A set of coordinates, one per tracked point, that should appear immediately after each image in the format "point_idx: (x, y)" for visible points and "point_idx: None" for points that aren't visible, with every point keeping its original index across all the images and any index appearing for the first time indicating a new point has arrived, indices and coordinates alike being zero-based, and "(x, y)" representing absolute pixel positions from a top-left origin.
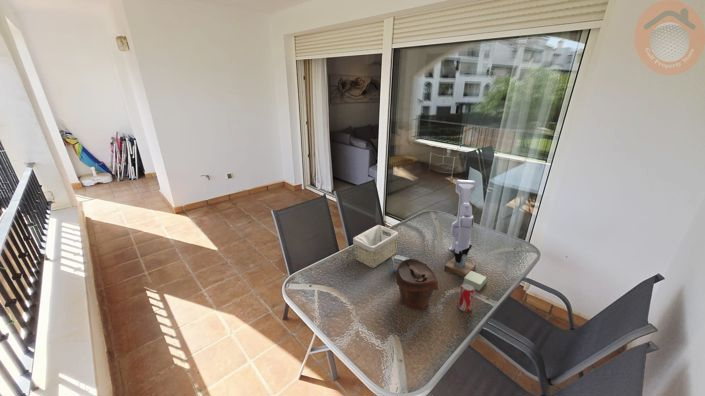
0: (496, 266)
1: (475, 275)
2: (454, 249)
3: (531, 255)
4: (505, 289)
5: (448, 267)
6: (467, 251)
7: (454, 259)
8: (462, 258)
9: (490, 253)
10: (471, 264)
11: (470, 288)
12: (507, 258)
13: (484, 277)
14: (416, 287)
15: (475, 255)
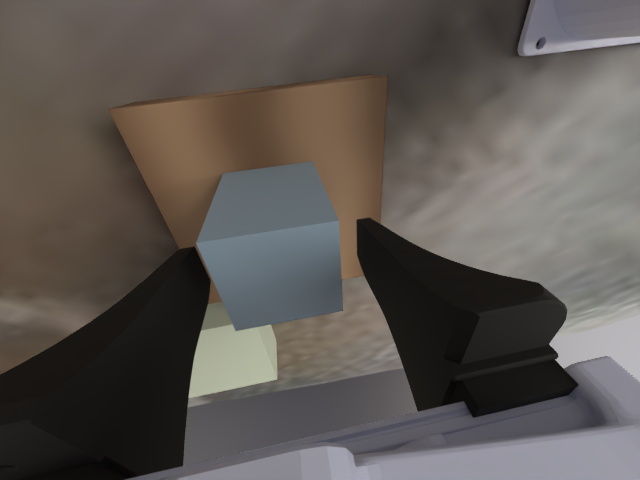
0: None
1: (231, 356)
2: (1, 439)
3: (617, 318)
4: (304, 382)
5: (138, 159)
6: (391, 322)
7: (211, 204)
8: (235, 323)
9: (596, 216)
10: (355, 257)
11: None
12: (561, 287)
13: (263, 377)
14: None
15: (536, 167)
